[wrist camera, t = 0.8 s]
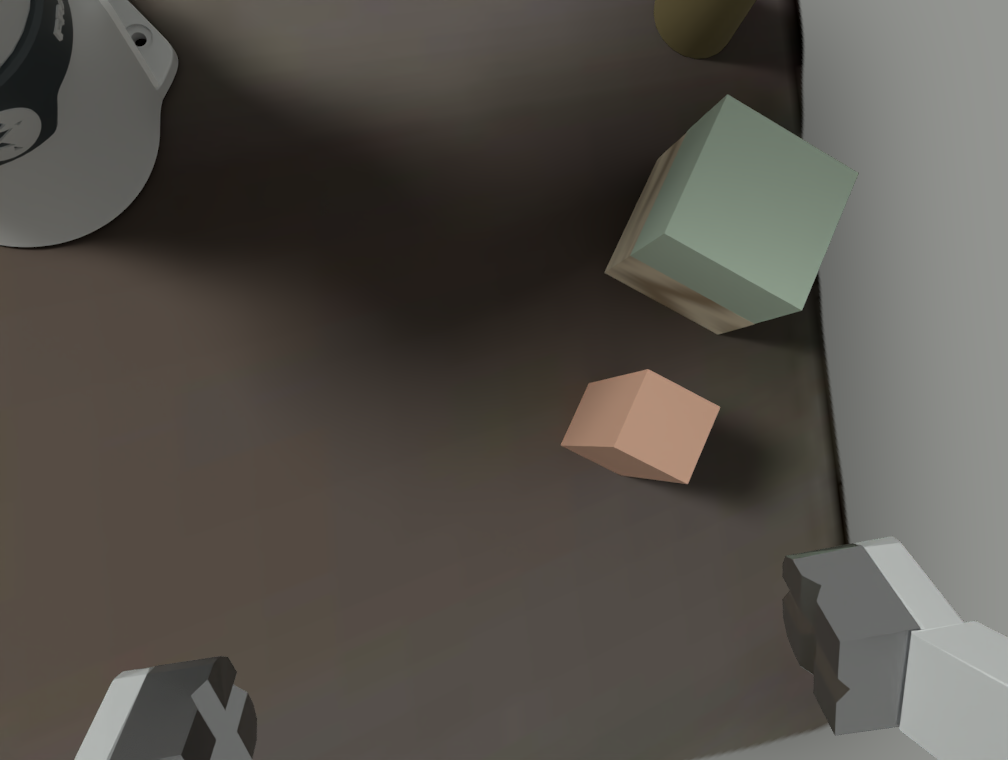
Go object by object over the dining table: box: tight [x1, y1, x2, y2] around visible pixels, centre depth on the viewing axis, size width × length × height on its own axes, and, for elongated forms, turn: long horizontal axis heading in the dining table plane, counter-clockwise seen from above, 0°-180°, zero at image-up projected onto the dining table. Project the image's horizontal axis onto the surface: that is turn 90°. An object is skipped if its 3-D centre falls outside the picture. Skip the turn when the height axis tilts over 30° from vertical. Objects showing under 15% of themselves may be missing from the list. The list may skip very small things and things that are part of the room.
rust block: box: [561, 369, 720, 484], centre depth 44 cm, size 4×4×10 cm
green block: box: [630, 94, 859, 324], centre depth 44 cm, size 9×9×5 cm
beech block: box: [604, 133, 754, 335], centre depth 49 cm, size 9×9×5 cm
